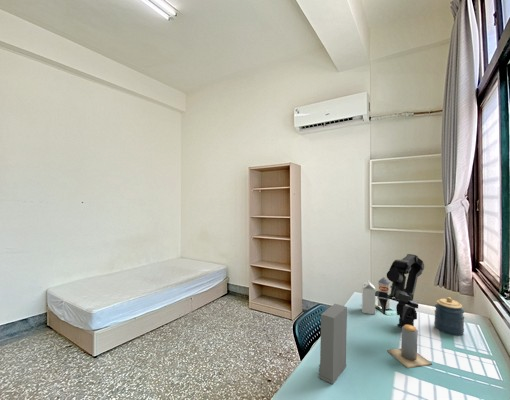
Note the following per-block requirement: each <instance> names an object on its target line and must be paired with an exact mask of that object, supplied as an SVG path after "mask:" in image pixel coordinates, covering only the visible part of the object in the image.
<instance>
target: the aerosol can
mask: <svg viewBox="0 0 510 400" xmlns="http://www.w3.org/2000/svg"><path fill="white" fill-rule="evenodd" d="M390 282H391V281H389V279H388V278H387V276H382V278H381V279H379V280H378V282H377V285H378V286H377V291H382V292H385V293H387V294H388V295H389V294H391V288H390V287H391V283H390ZM386 300H387V303H386V308H389V309H390V305H391V301H390V300H391V299H387V298H386ZM378 306H381V304H380V301H379V299H378V298H377V307H378Z"/></svg>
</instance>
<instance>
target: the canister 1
mask: <svg viewBox="0 0 510 400" xmlns="http://www.w3.org/2000/svg"><path fill="white" fill-rule="evenodd" d="M418 331H419V330H418V329H417V328H416V327H415V326H412V325H404V326H403V327H402V328H401V344H400V345H401V348H400V349H401V355H402V357H404V358H405V359H408V360H416V359H417V353H418V336H419V335H418V334H419V333H418Z"/></svg>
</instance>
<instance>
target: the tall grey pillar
mask: <svg viewBox="0 0 510 400" xmlns="http://www.w3.org/2000/svg"><path fill="white" fill-rule="evenodd" d="M347 319H348V307H347V306H345V305H341V304H338V303H333V305H331V306H330V307H329V308H327V309H326V310H324V312H322V313H321V314H320V349H319V350H320V351H319V352H320V353H319V354H320V355H319V356H320V357H319V359H320V360H319V364H318V372H319V373H318V377H317V378H318V379H320V380H322V381H325V382H326V383H329V384H331V385H334V384H335V382H336V381H337V379H339V377H340V376H341V374H342V373H343V372H344V370H345V369H346V368H347V334H348V333H347V329H348V320H347Z"/></svg>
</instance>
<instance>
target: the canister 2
mask: <svg viewBox="0 0 510 400" xmlns="http://www.w3.org/2000/svg"><path fill="white" fill-rule="evenodd" d="M434 307H435V310H434V323H433V325H434V328H435V329H436V330H437V331H439V332H442V333H444V334H447V335H451V336H462V335H464V332H465V326H464V325H465V324H464V323H465V316H464V313H465V309H464V308H463V305H462V304H461V303H460V302H458V301H457V300H454V299H452V297H450V296H448V297H446V298H440V299H437V300H436V303H434Z"/></svg>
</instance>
